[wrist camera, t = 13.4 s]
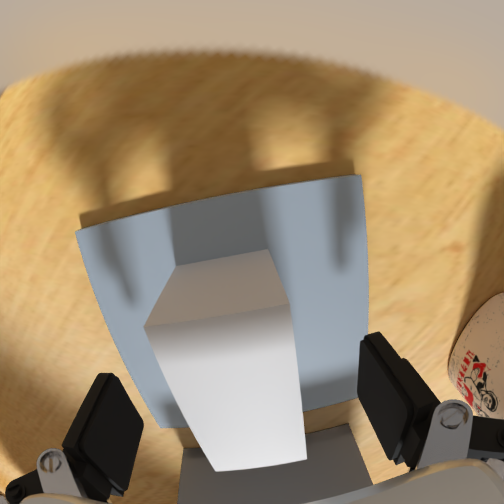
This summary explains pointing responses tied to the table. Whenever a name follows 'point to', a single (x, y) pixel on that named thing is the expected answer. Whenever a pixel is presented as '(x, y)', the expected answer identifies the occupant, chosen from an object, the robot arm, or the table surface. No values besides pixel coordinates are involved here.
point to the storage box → (279, 475)
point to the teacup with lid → (481, 360)
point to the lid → (239, 311)
